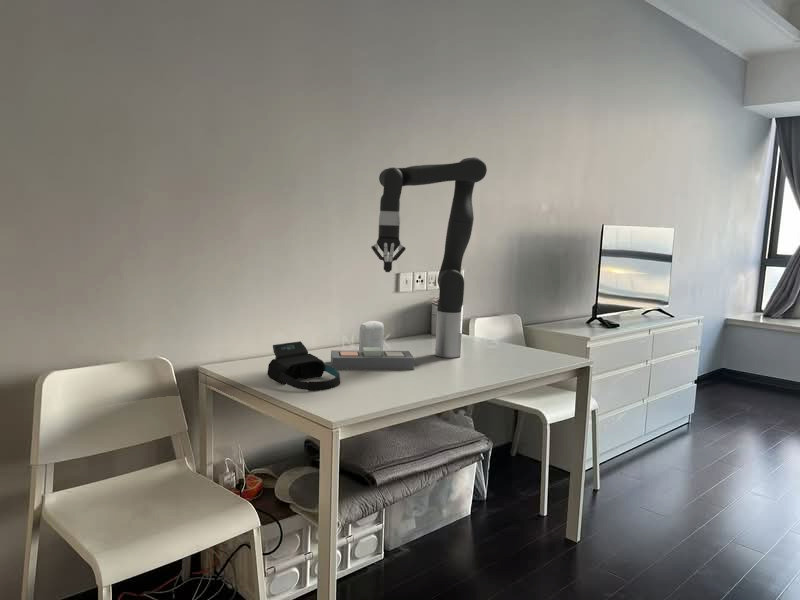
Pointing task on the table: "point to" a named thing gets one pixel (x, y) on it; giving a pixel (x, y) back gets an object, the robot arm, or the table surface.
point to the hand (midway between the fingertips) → (387, 272)
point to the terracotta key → (349, 354)
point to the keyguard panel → (372, 361)
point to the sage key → (372, 351)
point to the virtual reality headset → (300, 368)
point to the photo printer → (371, 335)
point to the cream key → (394, 354)
